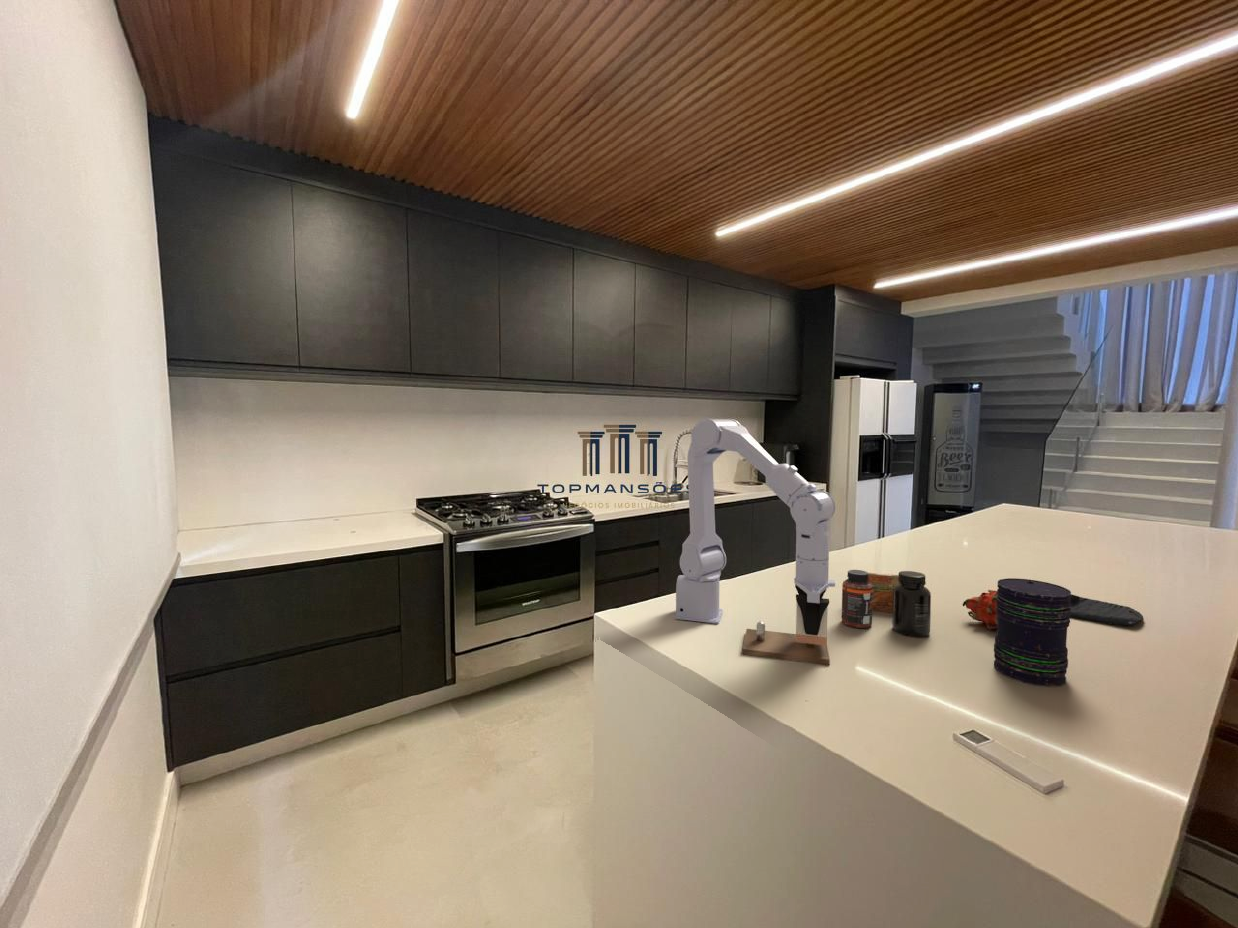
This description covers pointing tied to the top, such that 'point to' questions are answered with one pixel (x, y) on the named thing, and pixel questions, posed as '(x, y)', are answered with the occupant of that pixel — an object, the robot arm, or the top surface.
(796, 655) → the board
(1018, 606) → the dark blue cylinder
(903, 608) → the supplement bottle
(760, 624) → the steel pin
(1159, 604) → the top surface
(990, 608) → the dragon fruit
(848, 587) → the supplement bottle
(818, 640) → the sleeve
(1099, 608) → the dark slate chunk
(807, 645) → the brass pin
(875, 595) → the tin
